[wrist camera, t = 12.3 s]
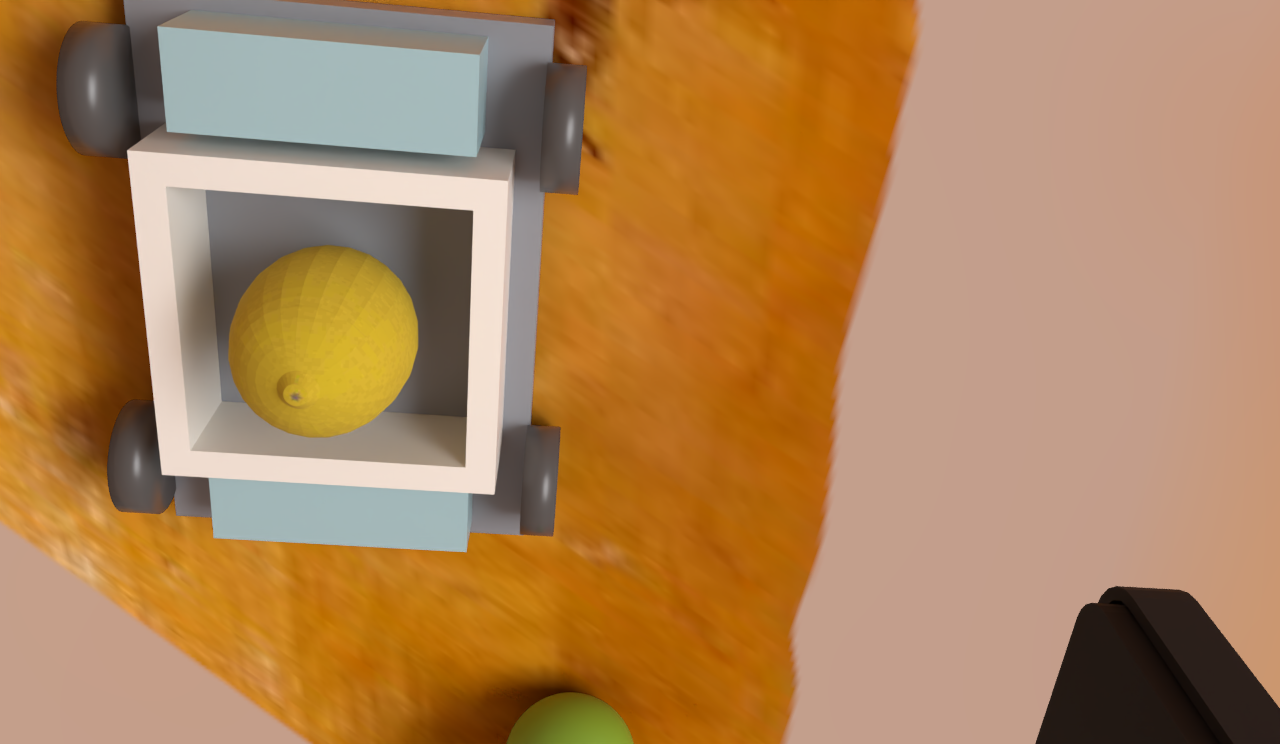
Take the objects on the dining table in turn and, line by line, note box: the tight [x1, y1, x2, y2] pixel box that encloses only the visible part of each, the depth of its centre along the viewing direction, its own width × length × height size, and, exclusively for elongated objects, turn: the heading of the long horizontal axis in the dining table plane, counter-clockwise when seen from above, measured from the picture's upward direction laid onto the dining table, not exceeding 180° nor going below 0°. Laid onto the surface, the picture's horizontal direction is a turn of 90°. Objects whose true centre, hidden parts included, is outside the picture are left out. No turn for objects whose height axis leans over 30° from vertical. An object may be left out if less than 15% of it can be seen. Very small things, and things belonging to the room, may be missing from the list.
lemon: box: [228, 245, 418, 438], centre depth 35 cm, size 6×6×8 cm
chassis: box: [57, 0, 587, 552], centre depth 37 cm, size 19×15×5 cm
